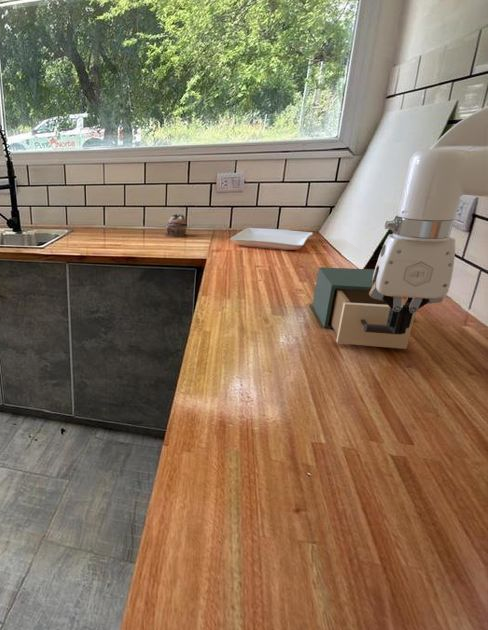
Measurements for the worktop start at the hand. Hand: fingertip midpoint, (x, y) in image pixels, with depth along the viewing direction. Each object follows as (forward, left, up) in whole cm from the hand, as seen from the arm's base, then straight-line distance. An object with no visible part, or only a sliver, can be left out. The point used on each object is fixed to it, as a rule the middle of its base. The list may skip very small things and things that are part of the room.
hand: (396, 330), depth 81 cm
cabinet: (0, -29, -9) cm, 30 cm away
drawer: (0, -15, -8) cm, 17 cm away
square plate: (+10, -114, -9) cm, 114 cm away
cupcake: (+50, -126, -9) cm, 135 cm away
